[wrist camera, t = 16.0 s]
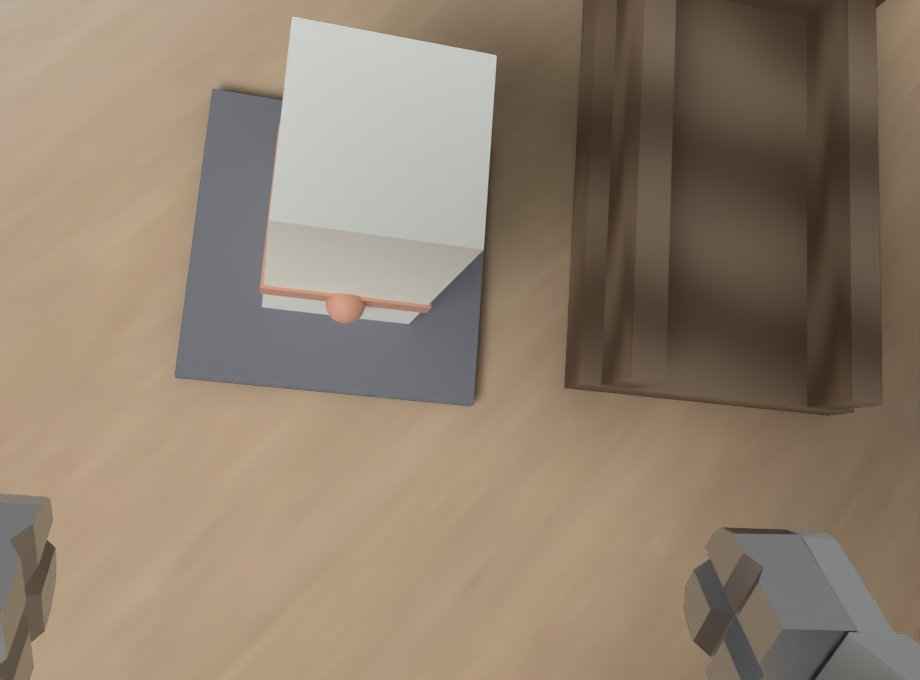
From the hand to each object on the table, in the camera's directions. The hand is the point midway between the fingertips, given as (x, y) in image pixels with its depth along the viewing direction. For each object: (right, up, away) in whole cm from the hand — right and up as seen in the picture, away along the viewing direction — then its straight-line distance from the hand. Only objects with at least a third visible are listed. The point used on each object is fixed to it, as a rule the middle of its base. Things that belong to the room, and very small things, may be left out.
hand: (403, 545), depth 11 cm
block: (-3, +6, +19) cm, 20 cm away
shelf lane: (+10, +8, +24) cm, 27 cm away
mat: (-3, +6, +20) cm, 21 cm away
